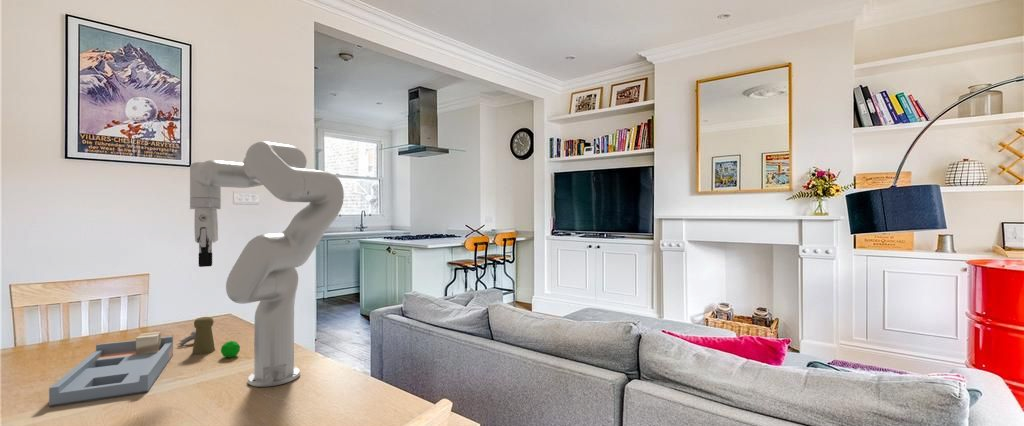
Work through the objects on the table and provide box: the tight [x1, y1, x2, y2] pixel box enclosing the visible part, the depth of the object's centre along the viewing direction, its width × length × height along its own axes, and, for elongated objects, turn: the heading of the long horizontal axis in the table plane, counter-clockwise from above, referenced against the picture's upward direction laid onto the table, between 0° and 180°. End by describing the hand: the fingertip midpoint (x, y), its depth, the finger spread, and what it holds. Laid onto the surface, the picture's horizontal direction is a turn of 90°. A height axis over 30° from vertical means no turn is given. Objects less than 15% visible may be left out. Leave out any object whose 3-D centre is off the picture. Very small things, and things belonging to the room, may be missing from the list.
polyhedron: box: [220, 340, 241, 359], centre depth 138 cm, size 5×5×5 cm
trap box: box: [48, 335, 174, 408], centre depth 121 cm, size 32×18×6 cm, turn 28°
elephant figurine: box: [178, 330, 196, 347], centre depth 152 cm, size 10×6×9 cm
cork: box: [192, 316, 216, 355], centre depth 143 cm, size 6×6×11 cm
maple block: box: [135, 331, 162, 355], centre depth 134 cm, size 5×5×5 cm
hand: (205, 266), depth 132 cm, fingers closed
